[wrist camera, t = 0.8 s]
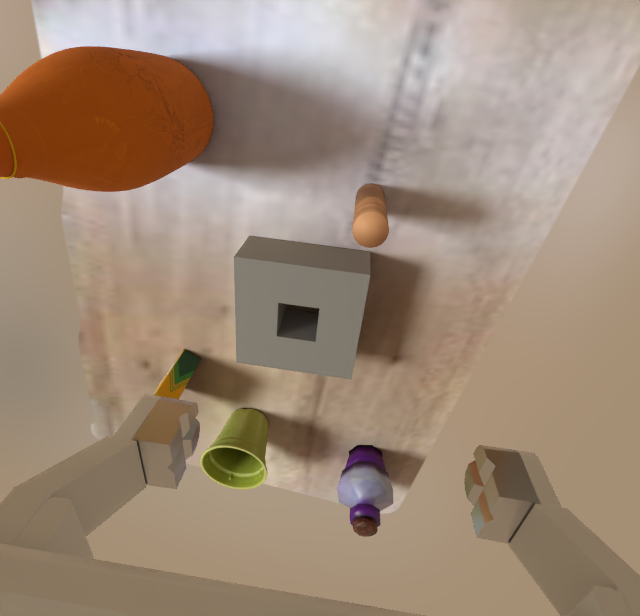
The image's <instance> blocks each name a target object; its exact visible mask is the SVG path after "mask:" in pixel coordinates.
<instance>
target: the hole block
mask: <svg viewBox="0 0 640 616" xmlns="http://www.w3.org/2000/svg"><path fill="white" fill-rule="evenodd" d="M234 274H235V315H236V356H237V363H243V364H250V365H257V366H264V367H271V368H278V369H284V370H291V371H298V372H305V373H312V374H319V375H326V376H332V377H339V378H346V379H351V378H352V373H353V368H354V362H355V357H356V351H357V346H358V340H359V335H360V330H361V324H362V319H363V313H364V308H365V302H366V297H367V292H368V286H369V281H370V275H371V271H370V252H368V251H361V250H353V249H346V248H338V247H330V246H323V245H315V244H308V243H300V242H293V241H285V240H277V239H270V238H262V237H255V236H249V237H248V239H247V240H246V241H245V243H244V244H243V245H242V247H241V248H240V249H239V251H238V252H237V254H236V255H235V256H234ZM286 304H290V305H298V306H305V307H312V308H319V314H317V313H310V312H303V311H296V310H289V309H286Z"/></svg>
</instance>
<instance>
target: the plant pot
mask: <svg viewBox="0 0 640 616" xmlns="http://www.w3.org/2000/svg"><path fill="white" fill-rule="evenodd" d="M268 427H269V425H268V421H267V418H266V417H265V416H264V415H263V414H262V413H261V412H259V411H257V410H254V409H238V410H236V411H234V412H233V414H232V415H231V417H230V418H229V420H228V422H227V423H226V425H225V426H224V428H223V430H222V431H221V433H220V435H219V436H218V438H217V439H216V441H215V443H213V444H212V445H211V447H210V448H208V449H207V450H206V451H205V452H204V453H203V455H202V456H201V460H200V463H201V467H202V469H203V471H204V472H205V474H206V475H207V476H208V477H210V478H211V479H212V480H214V481H215V482H217V483H219V484H221V485H223V486H226V487H230V488H234V489H251V488H255V487H257V486H260V485H261V484H262V483H263V482H264V481H265V479H266V476H267V468H266V462H265V453H266V444H267V435H268Z"/></svg>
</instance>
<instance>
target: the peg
mask: <svg viewBox="0 0 640 616" xmlns="http://www.w3.org/2000/svg"><path fill="white" fill-rule="evenodd" d="M388 233H389V227H388V219H387V211H386V204H385V196H384V192H383V190H382V189H381V188H380V187H379V186H378V185H376V184H366V185H364V186H362V187H361V188H360V189H359V190H358V192H357V195H356V202H355V212H354V222H353V236H354V238H355V240H356V241H357V242H358V243H359V244H360V245H362V246H364V247H369V248H372V247H376V246H379V245H381V244H382V243H383V242H384V241H385V240H386V238H387V236H388Z"/></svg>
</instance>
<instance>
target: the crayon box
mask: <svg viewBox="0 0 640 616" xmlns="http://www.w3.org/2000/svg"><path fill="white" fill-rule="evenodd" d="M200 360H201V359H200V358H199V357H197V356H195V355H193V354H192V353H190V352H188V351H187V350H185V349H184V350H183V351H182V352H181V354H180V355H179V357H178V358H177V360H176V361H175V362H174V364H173V365H172V367H171V368H170V369H169V371H168V372H167V374H166V375H165V377H164V378H163V380H162V381H161V383H160V384H159V386H158V387H157V389H156V391H155V392H154V394H153V395H155V396H161V397H168V398H174V399H179V398H180V396H181V394H182V392H183V391H184V389H185V387H186V385H187V383H188V382H189V380H190V378H191V376H192V375H193V373H194V371H195V369H196V368H197V366H198V364H199V362H200Z"/></svg>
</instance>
